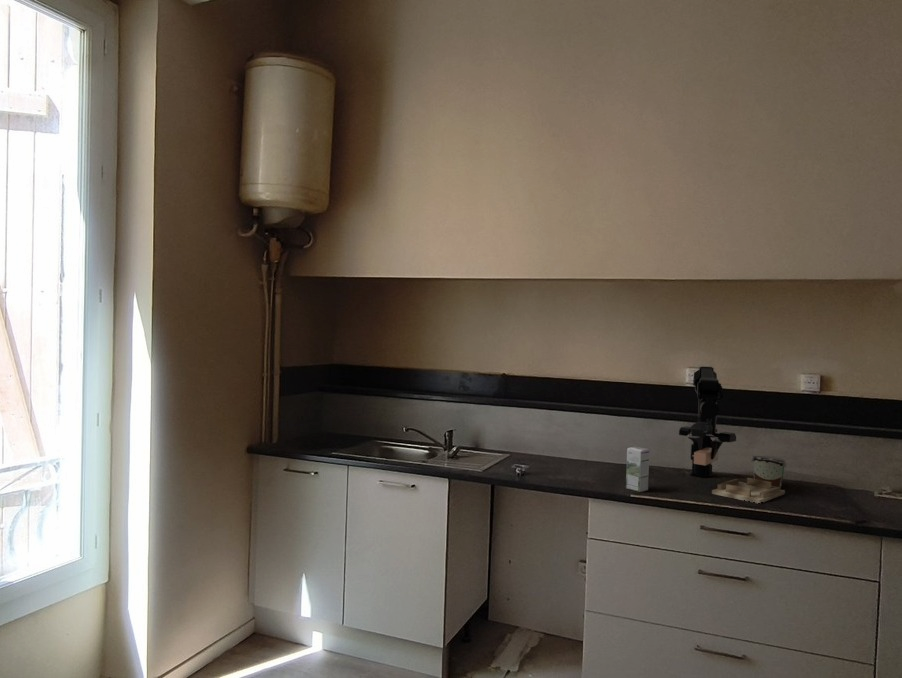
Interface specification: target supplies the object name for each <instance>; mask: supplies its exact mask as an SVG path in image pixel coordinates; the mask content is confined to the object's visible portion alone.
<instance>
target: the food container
mask: <svg viewBox="0 0 902 678" xmlns="http://www.w3.org/2000/svg"><path fill="white" fill-rule="evenodd" d="M750 462H752V469H753V472H752V473H753V479H757V480H762V481H768V482H771V488H775V487H781V488H782V483H783V478H784V472H785V468H786V467H787V462H786V460H785V459H783V458H782V457H781V458H780V457H775V456H771V455H770V456H768V455H753V456H752V457H751V459H750Z"/></svg>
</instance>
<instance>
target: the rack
mask: <svg viewBox="0 0 902 678" xmlns="http://www.w3.org/2000/svg"><path fill="white" fill-rule="evenodd" d="M716 487H717V488H715V489H712V490H711V494H712V495H716V496H722V497H726V498H731V499H735V500H740V501H744V500H745V502H748V501H750V502H749V503H753V502H755V503H754V504H758V503H760V504H762V503H761V502H763V503H765V502H767V501H770V500H772V499H776V498H779V497H781V496H783V495H785V494H786V491H785V489H781V488H782V486H781V487H771V482H768V481H762V480H757V479H754V478H751V477H750V478H749V477H747V478H746V482H744V481H740V479H739V478H734V479H730V480H727V481H724V482H720V483H718V484H717V486H716Z"/></svg>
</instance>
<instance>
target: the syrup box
mask: <svg viewBox="0 0 902 678" xmlns="http://www.w3.org/2000/svg"><path fill="white" fill-rule="evenodd" d="M626 449H627V450H626V469H625V470H626V476H625V489H626V490H630V491H633V492H638V493H640V492H645V491H649V472H650V471H649V470H650V469H649V468H650V467H649V466H650V449H649V448H644V447H639V446H631V447H628V448H626Z"/></svg>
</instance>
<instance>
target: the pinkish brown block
mask: <svg viewBox="0 0 902 678" xmlns="http://www.w3.org/2000/svg"><path fill="white" fill-rule="evenodd" d="M711 450H712V448H704V449H701V450H699V451H696V452H694V455H693V456H694V464H699V465H708V464H710V463H711V464H712V463H714V462H717V461H718V460H719V458H718V457H719V450H718V451H717V453H716V455H715V457H714V459H711Z"/></svg>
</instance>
